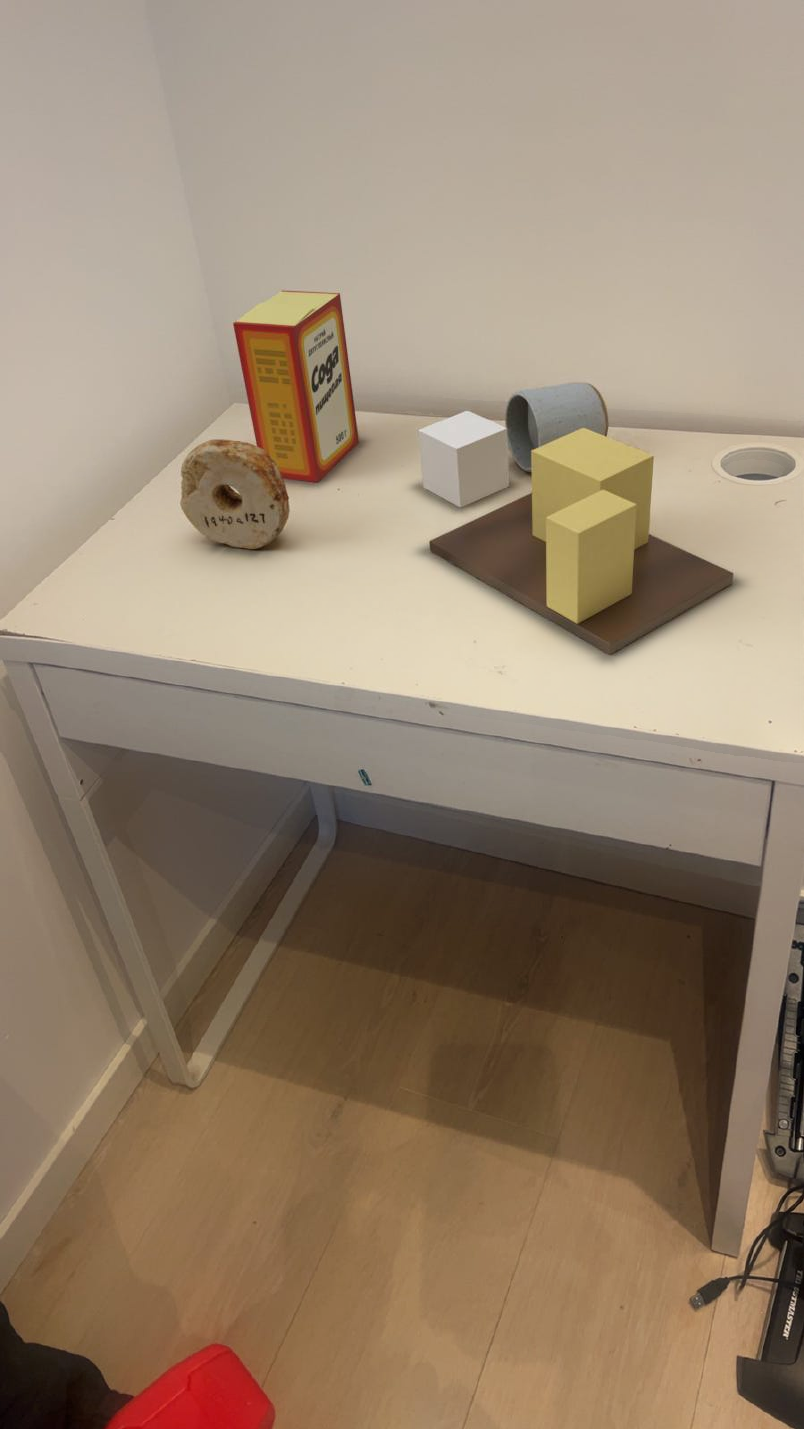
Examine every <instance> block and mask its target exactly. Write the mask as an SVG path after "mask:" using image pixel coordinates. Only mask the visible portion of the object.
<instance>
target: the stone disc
mask: <svg viewBox="0 0 804 1429" xmlns="http://www.w3.org/2000/svg"><path fill="white" fill-rule="evenodd" d="M180 468H181V469H180V476H181V478H182V479H181V483H180V484H181V487H180V490H181V492H180V493H181V498H180V502H179V504H180V508H181V510H182V512H183V514H184V515H185V517H186V518H187V520H188V521H189V522H190V524H191V525H192V526H193V527H194V528H195V529H196V530H197V531H198V533H200V534H202V535H203V536H204V537H205V538H207V539H209V540H210V541H213V542H215V543H219V544H224V545H228V546H230V547H233V548H237V549H241V548H243V549H247V550H256V549H260V548H262V547H265V546H266V545H269V544H271V542H272V541H274V540H275V539H276V538H277V537H278V536H279V535H280V534H281V532H282V531H283V529H284V527H285V525H286V524H287V522H288V519H289V517H290V511H291V510H290V501H289V499H290V496H289V495H288V490H287V488H286V482H285V480H284V478H283V476H282V474H281V471H280V470H278V469H277V466H276V463H275V462H274V461H273V460H272V459H271V458H270V456H269V455H268V453H267V452H265V451H264V450H263V449H261V448H259V447H257V445H255V444H253V443H249V442H243V441H240V440H232V439H221V438H217V439H216V438H215V439H209V440H207V441H204V442H202V443H200V444H199V445H197V446H196V447H195V448H193V449H192V450H191V451H190V452H189V453H188V454H187V455H186V457H185V458H184V460H183V462H182V465H181V467H180ZM236 491H237V492H236Z"/></svg>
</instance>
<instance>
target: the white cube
mask: <svg viewBox="0 0 804 1429" xmlns="http://www.w3.org/2000/svg"><path fill="white" fill-rule="evenodd" d="M417 434H418V435H417V436H418V444H419V456H420V467H421V468H420V469H421V478H422V488H423V489H425V490H427V491H429V492H431V493H433V494H435V495H436V496H438V497H440V498H442V499H443V500H445V501H447V502H449V503H451V504H453V505H455V506H456V507H458V508H460V509H461V508H463V507H465V506H468V505H470V504H473V503H474V502H478V501H479V500H481V499H485V498H486V497H488V496H491V495H493V494H496V493H498V492H500V491H502V490H504V489H507V488H509V487H510V478H509V476H510V475H509V472H510V471H509V444H508V440H507V428H506V426H503V425H500V424H499V423H496V422H494V421H492V420H489V419H487V418H485V417H483V416H481V415H479V414H476V413H474V412H472V411H469V410H465V411H462V412H460V413H458V414H455V415H452V416H450V417H447V418H445V419H443V420H440V421H437V422H434V423H432V424H429V425H427V426H425V427H422V428H420V429H417Z"/></svg>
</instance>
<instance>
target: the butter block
mask: <svg viewBox="0 0 804 1429" xmlns="http://www.w3.org/2000/svg"><path fill="white" fill-rule="evenodd" d="M654 459H655V456H654V454H652V453H649V452H647V451H643V450H641V449H638V448H636V447H634V446H631V445H629V444H626V443H624V442H621V441H618V440H616V439H613V438H610V437H608V436H607V437H606V436H603V435H601V434H598V433H596V432H593V431H591V430H588V429H586V428H581V429H579V430H577V431H574V432H572V433H570V434H568V435H565V436H563V437H561V438H559V439H556V440H554V441H552V442H550V443H548V444H545V445H543V446H541V447H539V448H536V449H534V450H532V451H531V465H532V472H531V493H532V528H533V536H535V537H537V538H539V539H541V540H543V541H545V542H546V517H547V516H550V515H552V514H554V513H556V512H558V511H560V510H562V509H564V508H566V507H568V506H570V505H572V504H574V503H576V502H578V501H580V500H582V499H585V498H587V497H589V496H591V495H593V494H595V493H597V492H599V491H601V490H605V491H608V492H610V493H612V494H614V495H617V496H619V497H621V498H624V499H626V500H628V501H630V502H633V503H635V504H636V523H635V542H634V550H635V549H637V548H638V547H640V546H642V545H644V544H646V543H648V538H649V534H650V524H651V523H650V521H651V505H652V491H653V490H652V489H653V475H654V474H653V473H654Z"/></svg>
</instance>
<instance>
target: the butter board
mask: <svg viewBox="0 0 804 1429" xmlns="http://www.w3.org/2000/svg"><path fill="white" fill-rule="evenodd" d="M429 551H430V552H431V553H434V554H435V555H437V556H439V557H441V558H442V559H444V560H445V561H447V562H449V563H451V564H453V565H454V566H456V567H457V568H459V569H461V570H463V571H465V572H466V573H468V574H469V575H471V576H474V577H475V578H477V579H478V580H480V581H482V582H483V583H485V584H486V585H489V586H490V587H492V588H494V589H496V590H497V591H499V592H500V593H503V594H504V595H506V596H508V597H509V598H511V599H513V600H515V601H517V602H518V603H520V604H522V605H523V606H525V607H527V608H529V609H530V610H532V611H534V612H536V613H537V614H539V615H540V616H542V617H544V618H545V619H547V620H549V621H551V622H553V623H555V624H556V625H558V626H560V627H561V628H563V629H565V630H567V631H568V632H570V633H572V634H574V635H575V636H577V637H578V638H580V639H582V640H584V641H585V642H587V643H589V644H591V645H593V646H594V647H596V648H598V649H599V650H601V651H602V652H604V653H606V654H608V655H612V654H614V653H617V651H620V650H621V649H623V648H624V647H627V646H628V645H630V644H631V643H633V642H634V641H636V640H639V639H640V638H642V637H643V636H645V635H647V634H648V633H650V632H652V631H654V630H655V629H657V628H659V627H660V626H662V625H663V624H665V623H667V622H669V621H670V620H672V619H674V618H676V617H677V616H679V615H680V614H682V613H684V612H686V611H688V610H689V609H691V608H693V607H695V606H696V605H699V603H701V602H703V601H704V600H706V599H708V598H710V597H711V596H713V595H715V594H717V593H718V592H720V591H722V590H724V589H725V588H727V587H729V586H730V585H732V584H733V581H734V575H735V574H734V572H732V571H730V570H728V569H726V568H724V567H722V566H719V565H717V564H715V563H713V562H710V561H709V560H707V559H704V558H702V557H700V556H697V555H695V554H693V553H691V552H689V551H687V550H685V549H682V548H680V547H679V546H676V545H674V544H671V543H669V542H667V541H665V540H663V539H661V538H658V537H656V536H654V535H652V534H650V533H649V538H648V543H646V544H644V545H642V546H640V547H638V548H637V549H635V550H634V560H633V578H632V594H631V595H629V596H627V597H625V598H624V599H622V600H620V601H618V602H616V603H614V604H613V605H611V606H609V607H607V608H605V609H604V610H602V611H600V612H598V613H596V614H595V615H593V616H591V617H589V618H587V619H586V620H584V621H582V622H580V623H578V624H576V623H575V622H573V621H571V620H569V619H568V618H566V617H564V616H563V615H561V614H559V613H557V612H556V611H554V610H552V609H550V608H549V607H547V587H546V542H545V541H543V540H541V539H539V538H537V537H535V536H533V528H532V492H530V493H528V494H526V495H524V496H522V497H519V498H518V499H515V500H513V501H511V502H509V503H507V504H504V505H502V506H500V507H498V508H497V509H494V510H492V511H490V512H488V513H486V514H483V515H482V516H479V517H477V518H475V519H472V520H471V521H469V522H466V523H465V524H462V525H461V526H459V527H456V528H454V529H452V530H450V531H448V532H446V533H443V534H442V535H439V536H437V537H435V538H433V539H431V540H429Z"/></svg>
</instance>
